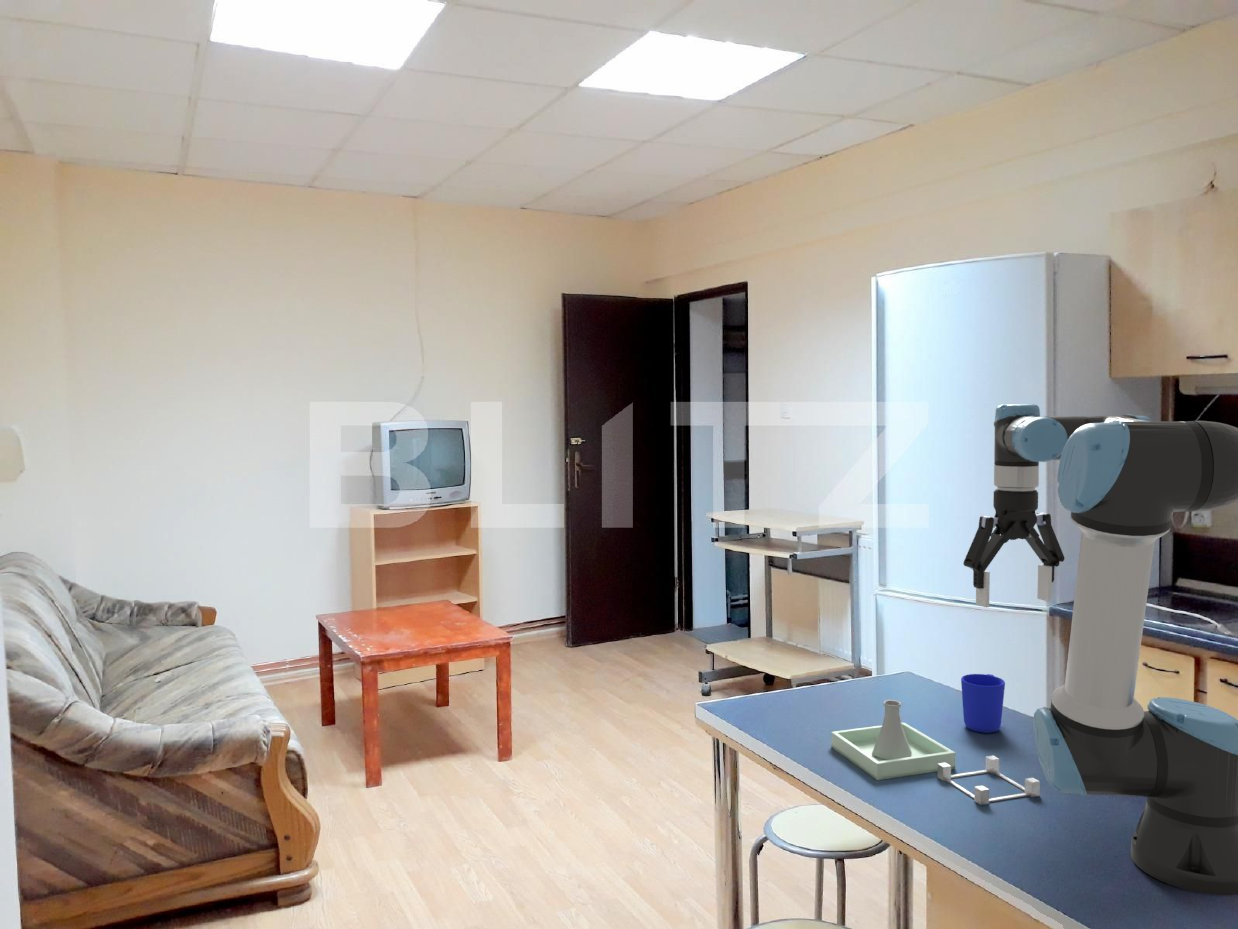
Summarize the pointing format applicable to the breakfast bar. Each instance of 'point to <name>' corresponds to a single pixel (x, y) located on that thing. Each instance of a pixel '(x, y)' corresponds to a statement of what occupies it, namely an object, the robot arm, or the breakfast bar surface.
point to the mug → (982, 702)
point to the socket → (981, 791)
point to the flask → (892, 735)
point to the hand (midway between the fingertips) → (1013, 603)
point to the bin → (922, 759)
